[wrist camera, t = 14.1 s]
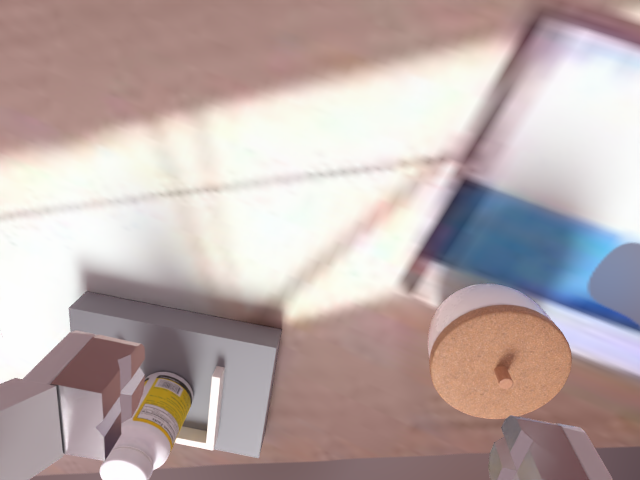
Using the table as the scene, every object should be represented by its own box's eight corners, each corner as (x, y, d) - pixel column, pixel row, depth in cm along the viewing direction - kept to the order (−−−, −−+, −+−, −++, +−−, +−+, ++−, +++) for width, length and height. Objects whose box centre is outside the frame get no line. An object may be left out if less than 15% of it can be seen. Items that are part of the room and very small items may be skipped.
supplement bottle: (155, 413, 47) (107, 501, 38) (134, 373, 45) (78, 456, 36) (203, 407, 46) (164, 495, 37) (183, 365, 44) (137, 449, 35)
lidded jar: (396, 324, 43) (405, 393, 35) (470, 242, 39) (500, 298, 31) (483, 376, 45) (510, 455, 37) (562, 303, 41) (615, 372, 32)
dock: (93, 402, 51) (69, 433, 47) (86, 291, 45) (59, 316, 41) (264, 435, 51) (255, 470, 47) (281, 329, 45) (273, 358, 41)
